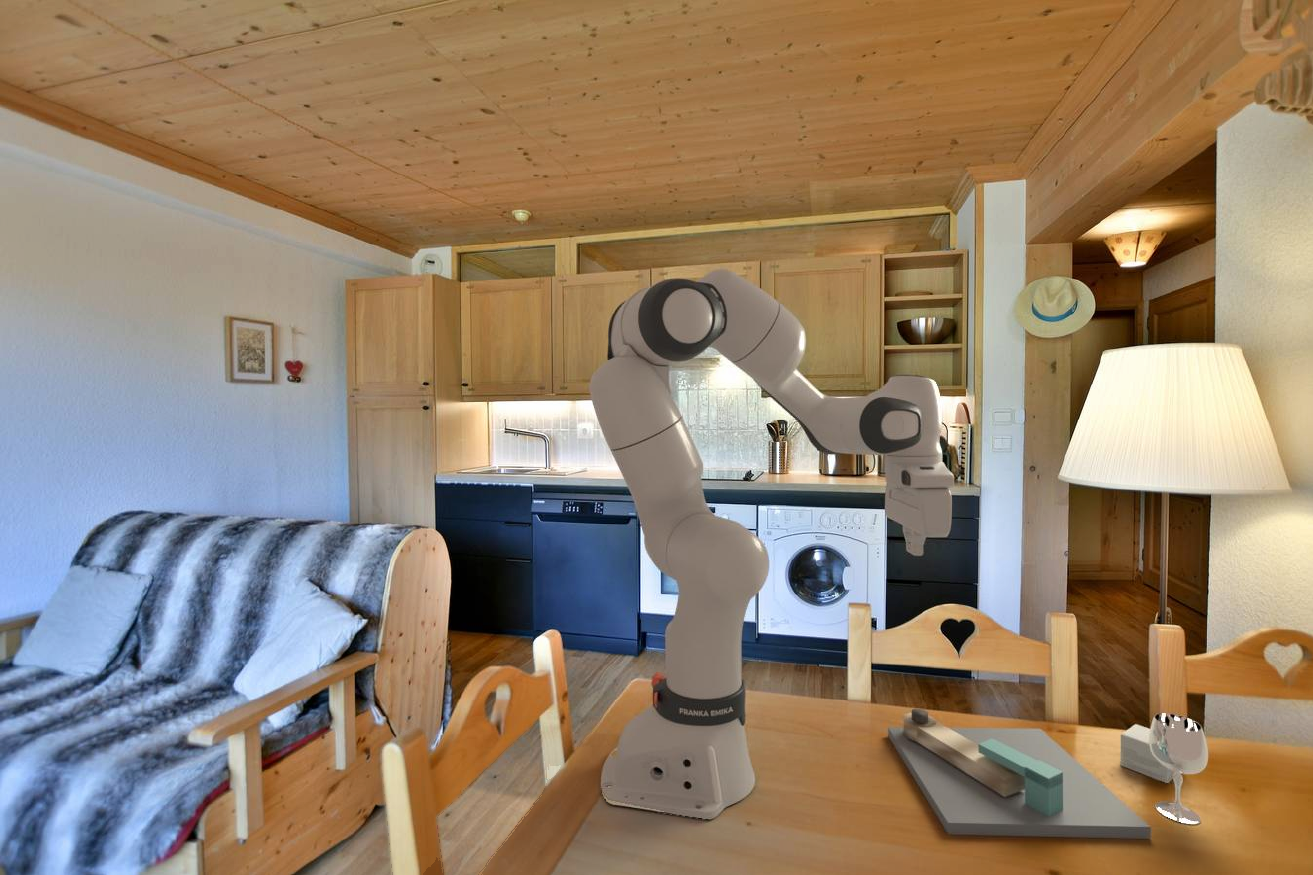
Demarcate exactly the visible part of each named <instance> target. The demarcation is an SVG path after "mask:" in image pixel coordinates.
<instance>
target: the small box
mask: <svg viewBox="0 0 1313 875" xmlns="http://www.w3.org/2000/svg"><path fill="white" fill-rule="evenodd" d="M1149 732H1150V728H1148V727H1146V726H1145V727H1144V726H1142V725H1140V724H1137V723H1135V724H1134V725H1132V726H1131V727H1130V728H1128V729H1127V730H1125V731H1124V732H1122V733H1121V734H1120V762H1119V764H1120V766H1122V767H1124V768H1126V769H1129V770H1132V771H1134V772H1137V773H1139V774H1142V775H1145V777H1146V776H1147V777H1149V778H1151V779H1154V780H1156V781H1159V782H1161V781H1162V783H1164V782H1165V783H1164V784H1166V783H1168V784H1170V783H1171V781H1173V780H1172V779H1173V773H1174V771H1172V770H1170V769H1168V768H1166V767H1164V766H1163V765H1161V764H1160V763H1159V762H1158V761H1157V760H1156V759H1155V758H1154V757H1153V755H1152V753H1151V751H1150V747H1149Z"/></svg>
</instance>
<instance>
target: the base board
mask: <svg viewBox="0 0 1313 875" xmlns="http://www.w3.org/2000/svg"><path fill="white" fill-rule="evenodd" d="M948 728H949V729H951V730H953V731H955V732H956V733H958V734H960V735H962V736H963V737H965V738H967V739H969V740H970V741H972V742H974V743H976V744H977V745H978V744H979V743H982V742H984V741H987V740H989V739H994V740H996V741H999V742H1001V743H1003V744H1005V745H1007V746H1009V747H1011V748H1013V749H1015V750H1017V751H1019V752H1021V753H1023V754H1025V755H1027V756H1029V757H1031V758H1033V759H1035V760H1037V761H1038V760H1040V761H1042V762H1044V763H1046V764H1048V765H1050V766H1052V767H1054V768H1056V769H1058V770H1060V771H1062V772H1063V810H1061V811H1059V812H1057V813H1056V814H1054V815H1052V816H1050V817H1048V816H1047V815H1045V814H1043V813H1041V812H1040V811H1038V810H1036V809H1034V808H1033V807H1031V806H1029V805H1027V804H1025V789H1024V790H1022V791H1019V792H1016V793H1014V794H1011V795H1008V796H1005V797H1004V796H1002V795H1000V794H999V793H997V792H996V791H994V790H993V789H991V788H989V787H988V786H986V785H985V784H983V783H981V782H980V781H978V780H977V779H975V778H974V777H972V776H970V775H969V774H967V773H966V772H964V771H962V770H961V769H959V768H958V767H956V766H955V765H953V764H951V763H950V762H948V761H947V760H945V759H943V758H942V757H940V756H939V755H937V754H936V753H934V752H932V751H931V750H929V749H928V748H926V747H925V746H923V745H921V744H920V743H918V742H916V741H913V740H911V739H909V738H908V737H906V736H905V734H904V726H903V727H902V726H901V727H900V726H898V727H895V726H894V727H893V726H891V727H890V726H889V727H887V734H888V736H887V737H888V738H889V740H890V742H891V743H892V744H893V747H894V748H895V750H896V751H897V753H898V755H899V756H900V758H901V760H902V761H903V763H904V764H905V766H906V767H907V769H908V771H909V772H910V774H911V776H912V777H913V779H914V781H915V782H916V784H917V786H918V787H919V789H920V791H921V792H922V794H923V796H924V797H925V799H926V800H927V802H928V804H929V806H930V807H931V809H932V810H933V812H934V814H935V815H936V817H937V819H938V820H939V822H940V823H941V825H942V827H943V829H944V830H945V832H946V833H947V835H948V836H949V835H952V836H955V835H956V836H957V835H958V836H989V837H990V836H991V837H993V836H996V837H997V836H999V837H1002V836H1003V837H1009V836H1010V837H1039V838H1040V837H1047V838H1087V839H1091V838H1092V839H1127V840H1128V839H1130V840H1131V839H1137V840H1138V839H1139V840H1151V835H1152V834H1151V831H1152V830H1151V829H1152V828H1151V826H1150V825H1149V824H1148V823H1147V822H1146V821H1145V820H1144V819H1143V818H1141V817H1140V816H1139V815H1138V814H1137V813H1135V811H1133V810H1132V809H1131V808H1130V807H1129V806H1128V805H1127V804H1126V803H1125V802H1123V801H1122V800H1121V799H1120V798H1119V797H1117V796H1116V795H1115V794H1114V793H1113V792H1112V791H1111V790H1110V789H1109V788H1107V787H1106V786H1105V785H1104V784H1103V783H1102V782H1101V781H1100V780H1099V779H1098V778H1096V777H1095V776H1094V775H1093V774H1092V773H1091V772H1089V770H1087V769H1086V768H1085V766H1084V765H1082V764H1081V763H1080V762H1079V761H1077V760H1076V759H1075V758H1074V757H1073V756H1072V755H1070V754H1069V753H1068V751H1066V750H1065V749H1064V748H1063V747H1062V746H1060V745H1059V743H1057V742H1056V741H1055V740H1053V738H1052V737H1050V736H1049V735H1048V733H1046V732H1045V731H1044V730H1042V729H1041V728H1008V727H1007V728H1004V727H1003V728H1001V727H999V728H997V727H995V728H994V727H992V728H991V727H948Z"/></svg>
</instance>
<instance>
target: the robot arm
mask: <svg viewBox="0 0 1313 875" xmlns="http://www.w3.org/2000/svg"><path fill="white" fill-rule="evenodd" d="M607 332H608V333H607V339H608V341H607V354H606V355H607V361H605V362H604V363H602V364H601V365H600V366H599V367H598V368H597V369H596V370H595V371H594V373H593V374H592V376H591V378H590V381H589V394H590V397H591V402H592V405H593V409H594V413H595V416H596V418H597V419H596V420H597V421H598V424H599V427H600V429H601V432H602V435H603V437H604V440H605V441H606V444H607V446H608V448H609V450H610V453H611V454H612V457H613V458H614V461H615V463H616V465H617V467H618V469H619V471H620V473H621V475H622V478H623V479H624V482H625V484H626V486H627V488H628V490H629V493H630V495H631V498H632V499H633V502H634V506H635V509H636V511H637V515H638V520H639V523H640V527H641V530H642V533H643V538H644V539H643V540H644V541H643V544H644V548H645V551H646V554H647V555H648V557H649V559H650V560H651V561H652V563H653V564H654V566H656V568H657V569H658V570H659V571H660V572H661V573H662V574H664V575H665V576H667V577H669V578H671V579H672V580H674V581H676V584H677V589H678V596H677V597H678V598H677V602H676V607H675V612H674V615H673V618H672V619H671V620H670V622H669V623H668V624H667V626H666V628H665V633H664V637H665V639H664V640H665V645H664V646H665V672H666V673H665V675H664V674H663V673H662V672H656V673H654V674H653V675H652V678H651V682H650V685H651V686H652V704H651V705H649V706H647V708H645V709H644V710H643V711H641V712H640V713H638V714H637V715H636V716H633V717H632V718H631V719H630V720H628V722H627V723H626V724H625V726H624V728H623V730H622V731H621V734H620V736H619V738H618V743H617V746H616V747H615V748H613V750H612V751H611V752H610V753H609V754H608V756H607V757H606V760H605V761H604V763H603V766H602V769H601V774H600V776H601V777H600V789H601V788H602V792H603V794H604V796H605V797H606V798H607V799H608V800H611V801H615V802H620V803H625V804H628V805H629V804H631V805H634V806H640V807H644V808H650V809H656V810H660V811H664V812H668V813H672V814H678V815H677V816H679V815H682V816H681V817H685V816H689V817H688V818H692V817H697V818H696V819H698V818H702V819H701V820H705V819H709V820H713V819H714V818H716V817H717V816H718V815H720V814H721V813H722V811H723V810H724V809H725V808H727V807H729V806H732V805H733V804H736V803H738V802H740V801H742V800H744V799H745V798H746V797H747V796H748V795H749V794H750V793H751V792H752V791H753V789H754V787H755V783H756V774H755V771H754V768H753V766H752V762H751V757H750V753H749V748H748V744H747V743H748V742H747V738H746V729H745V724H746V717H747V692H746V691H747V690H746V688H745V682H744V680H743V678H742V677H743V676H742V673H743V672H742V667H743V666H742V635H743V627H744V621H745V617H746V614H747V613H746V612H747V610H748V607H749V603H750V601H751V599H753V598H754V597H755V596H756V595H757V594H758V593H759V592H760V591H761V590H762V588H763V587H764V585H765V583H766V581H767V579H768V575H769V572H770V557H769V556H770V555H769V553H768V549H767V547H766V546H765V544H764V542H763V541H762V540H761V538H759V536H757V535H756V534H755V533H753V532H752V531H751V530H749V529H748V528H747V527H745V526H744V525H742V524H741V523H739V522H737V521H735V520H731V519H728V518H724V517H721V516H718V515H715V514H714V513H713V512H712V511H711V509H710V507H709V506H708V504H707V501H706V498H705V494H704V489H703V482H702V475H703V473H704V463H703V460H702V457H701V456H700V453H699V451H698V449H697V447H696V445H695V442H694V440H693V438H692V435H691V433H690V432H689V429H688V426H687V425H686V423H685V421H684V417H683V416H682V414H681V412H680V409H679V407H678V405H677V403H676V401H675V399H674V398H673V396H672V391H671V390H672V389H671V386H670V370H671V366H673V365H676V364H679V363H682V362H686V361H689V360H692V359H694V358H696V357H698V356H699V355H700V354H702V353H704V351H705V350H707V349H708V348H709V347H710V348H711V349H714V350H716V351H717V352H719V354H721V356H722V357H724V358H725V359H727V360H728V361H730V362H731V363H732V364H733V365H734V366H735V367H737V368H738V369H740V370H741V371H742V372H744V373H745V374H746V375H747V376H749V377H750V378H751V379H752V380H753V381H754V382H755V383H756V385H757V386H758V387H759V388H760V389H761V390H762V391H763V392H764V393H765V394H767V395H768V397H770V398H771V399H772V400H773V401H774V402H776V404H778V406H780V407H781V408H782V409H783V410H784V411H785V412H786V413H788V414H789V415H790V416H791V417H792V418H793V419H794V420H795V421H796V422H797V423H798V424H799V425H800V427H801V428H802V430H803V431H804V434H805V435H806V437H807V438H808V440H809V441H810V443H811V444H812V446H813V448H816V450H818V451H819V452H821V453H822V454H825V455H833V456H834V455H846V454H847V455H862V456H863V455H864V456H865V455H871V456H883V455H885V457H884V462H885V463H884V465H885V468H884V470H885V471H884V472H885V473H884V474H885V492H884V493H885V495H884V512H885V515H886V518H888V519H890V520H892V521H893V522H896V523H897V524H900V525H902V532H903V535H904V539H905V551H906V552H907V553H910V554H911V555H913V556H914V557H915V556H916V557H921V556H923V555H924V545H925V543H926V539H927V538H947V537H948V536H949V534H950V531H951V527H952V518H953V517H952V516H953V515H952V513H953V512H952V510H953V507H952V506H953V498H952V497H953V496H952V493H951V490H950V489H949V488H954V487H955V476H954V474H953V472H951V471H950V469H949V468H947V466H946V464H945V462H943V449H942V447H941V444H940V443H941V442H940V441H941V440H940V437H941V434H942V430H943V415H942V414H943V413H942V410H943V409H942V402H941V394H940V390H939V387H938V385H937V383H936V381H935V380H933V379H932V378H930V377H927V376H924V375H919V374H915V375H913V374H897V375H893V376H891V377H890V378H889V379H888V381H887V382H886V383H885V384H884V385H883V386H882V387H880V388H878V389H876V390H875V391H873V392H871V393H868V394H867V395H864V396H862V395H861V396H855V397H853V396H851V397H836V396H830V395H827V394H824V393H822V392H821V391H820V390H818V389H817V387H816V386H814V385H813V383H811V382H810V381H809V380H808V379H807V378H806V376H804V375H803V374H802V373H801V372H800V371H799V370H798V369H797V368H798V367H799V364H800V363H801V361H802V360H803V357H804V355H805V353H806V352H805V351H806V346H807V336H806V330H805V328H804V327H803V325H802V323H801V322H800V321H799V319H798V318H797V317H796V316H795V315H794V314H793V313H792V312H791V311H790V310H789V309H787V308H786V307H785V306H784V305H783V304H781V302H779V301H778V300H776V299H775V298H774V297H773V296H771V295H770V294H769V293H767V292H766V291H765V290H763V289H762V288H760V287H759V286H757V285H755V283H752V282H751V281H749V280H748V279H746V278H745V277H743V276H741V275H739V274H737V273H736V272H733V271H731V270H728V269H724V268H723V269H722V268H721V269H720V268H719V269H714V270H712V271H710V272H708V273H706V274H704V275H703V276H702V277H700V278H699V279H698V280H697V281H696V280H692V279H689V278H688V279H687V278H669V279H664V280H661V281H659V282H657V283H655V284H654V285H652V286H648V287H645V288H641V289H640V290H638V291H637V292H635V293H633V294H632V295H631V296H629V298H627V299H626V300H624V301H623V302H621V303H620V304H619V305H618V306H617V308H616V309H615V311H613V313H612V315H611V318H610V320H609V322H608V330H607ZM614 751H617V752H616V757H615V756H612V755H611V753H612V752H614ZM608 786H611V788H606V787H608ZM672 814H671V815H672Z"/></svg>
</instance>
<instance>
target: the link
mask: <svg viewBox="0 0 1313 875" xmlns="http://www.w3.org/2000/svg"><path fill="white" fill-rule="evenodd" d="M902 720H903V727H904V734H905V736H906V737H908V738H909V739H911V740H913V741H916V742H918V743H920V744H921V745H923V746H925V747H926V748H928V749H929V750H931V751H932V752H934V753H936V754H937V755H939V756H940V757H942V758H943V759H945V760H947V761H948V762H950V763H951V764H953V765H955V766H956V767H958V768H959V769H961V770H962V771H964V772H966V773H967V774H969V775H970V776H972V777H974V778H975V779H977V780H978V781H980V782H981V783H983V784H985V785H986V786H988V787H989V788H991V789H993V790H994V791H996V792H997V793H999V794H1000V795H1002V796H1004V797H1005V796H1008V795H1011V794H1014V793H1016V792H1019V791H1022V790H1024V789H1025V777H1024V776H1022V775H1020V774H1018V773H1017V772H1015V771H1013V770H1011V769H1009V768H1007V767H1005V766H1003V765H1001V764H1000V763H998V762H996V761H994V760H992V759H990V758H988V757H986V756H984V755H983V754H981V753H979V752H978V745H977V744H976V743H974V742H972V741H970V740H969V739H967V738H965V737H963V736H962V735H960V734H958V733H956V732H955V731H953V730H951V729H949V728H950V727H947V726H945V725H944V724H943V723H940V722H939V721H937V720H936V718H934V717H933V716H931V715H929V712H928V711H927V710H925V709H922V708H913V709H911V712H908V713H904V714H903V719H902Z"/></svg>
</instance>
